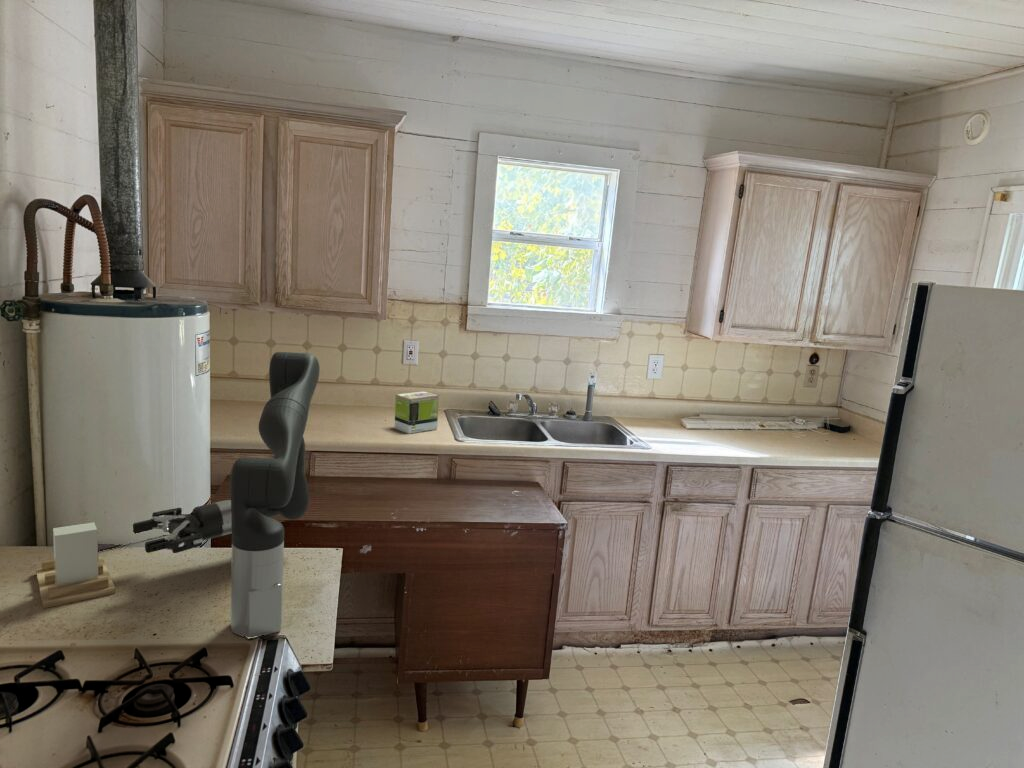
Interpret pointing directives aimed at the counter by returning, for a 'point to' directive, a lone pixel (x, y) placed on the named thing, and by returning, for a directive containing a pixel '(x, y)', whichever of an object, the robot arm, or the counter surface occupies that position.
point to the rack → (72, 585)
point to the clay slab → (75, 553)
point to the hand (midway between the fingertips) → (139, 538)
